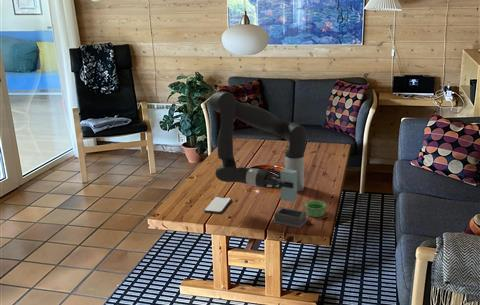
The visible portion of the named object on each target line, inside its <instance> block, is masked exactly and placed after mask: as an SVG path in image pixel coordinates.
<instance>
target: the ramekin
mask: <svg viewBox="0 0 480 305" xmlns="http://www.w3.org/2000/svg"><path fill="white" fill-rule="evenodd" d="M326 207H327V204H326V203H325V202H324V201H320V200H309V201H306V203H305V209H306V210H305V212H306V216H308V217H313V218H321V217H323V216H324V215H325V212H326Z"/></svg>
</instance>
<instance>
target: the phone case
mask: <svg viewBox="0 0 480 305" xmlns="http://www.w3.org/2000/svg"><path fill="white" fill-rule="evenodd" d="M231 203H232V198H231V197H225V196H215V197H214V198H212V199H211V201H210V202H209V203H208V205H207V206H206V207H205V208H204V213H208V214H217V215H221V214H222V213H224V211H225V210H226V209H227V208H228V206H229V205H230V204H231Z"/></svg>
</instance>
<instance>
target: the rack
mask: <svg viewBox="0 0 480 305" xmlns="http://www.w3.org/2000/svg"><path fill="white" fill-rule="evenodd" d="M273 216H274V218H273V219H271V223H274V224H279V225H284V226H288V227H293V228H297V229H301V228H302V227H303V226H304V225H305V224H306V223H307V222H308V220H309V217H307V213H306V211H303V210H298V209H293V208H288V207H282V206H281V207H280V208H279V209H278V210H277V211H275V212H274V214H273Z"/></svg>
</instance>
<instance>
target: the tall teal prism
mask: <svg viewBox="0 0 480 305" xmlns="http://www.w3.org/2000/svg"><path fill="white" fill-rule="evenodd" d="M280 173H281V181H284V182H290V183H293V188H287V187H284V188H282V187H281V189H280V200H281V201H285V202H291V203H295V202H296V201H297V200H298V191H297V171H296V170H290V169H285V168H283V169H282V170H280Z"/></svg>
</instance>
